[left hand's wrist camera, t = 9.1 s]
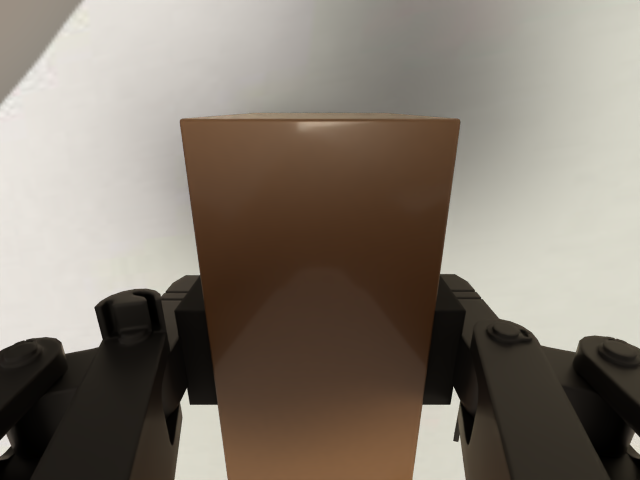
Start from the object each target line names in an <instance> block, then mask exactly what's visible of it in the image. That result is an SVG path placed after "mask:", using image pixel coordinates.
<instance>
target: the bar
mask: <svg viewBox="0 0 640 480" xmlns="http://www.w3.org/2000/svg"><path fill="white" fill-rule="evenodd" d="M180 127H181V134H182V142H183V149H184V157H185V164H186V172H187V179H188V187H189V194H190V201H191V209H192V216H193V224H194V231H195V239H196V246H197V254H198V261H199V268H200V276H201V283H202V291H203V298H204V306H205V313H206V321H207V328H208V335H209V343H210V350H211V358H212V365H213V373H214V380H215V388H216V395H217V402H218V410H219V417H220V425H221V432H222V440H223V447H224V455H225V462H226V469H227V477H228V480H412V478H413V470H414V463H415V455H416V448H417V440H418V433H419V426H420V418H421V411H422V403H423V396H424V388H425V381H426V374H427V366H428V359H429V351H430V344H431V337H432V329H433V322H434V314H435V307H436V299H437V292H438V285H439V277H440V270H441V262H442V255H443V247H444V240H445V233H446V225H447V218H448V210H449V203H450V195H451V188H452V181H453V173H454V166H455V158H456V151H457V144H458V136H459V129H460V120H459V119H455V118H443V117H430V116H417V115H405V114H392V113H249V114H236V115H223V116H210V117H197V118H184V119H181V120H180Z"/></svg>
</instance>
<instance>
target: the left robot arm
mask: <svg viewBox="0 0 640 480" xmlns="http://www.w3.org/2000/svg"><path fill="white" fill-rule="evenodd" d="M94 308H95V311H96V315H97V319H98V323H99V327H100V331H101V334H102V338H103V340H102V342H101V344H100V346H99V347H98V348H94V349H89V350H83V351H78V352H73V353H68V354H65V353H64V349H63V346H62V343H61V342H60V341H59V340H57V339H56V338H49V337H43V338H32V339H28V340H26V341H25V340H24V341H21V342H17V343H15V344H14V345H12V346H10V347H7V348H5V349H3V350H1V351H0V440H1V439H2V438H3V437H4V436H5V435H6V434H7V437H8V439H9V442H10V444H11V447H10V448H9V449H8V450H7V451H6V452H5V453H4V454H3V455H2V456H0V480H174V478H175V470H176V463H177V455H178V447H179V440H180V432H181V424H182V411H181V405H180V401H181V399H182V397H183V395H184V393H185V391H186V389H187V390H188V396H189V402H190V405H218V402H217V395H216V388H215V380H214V373H213V365H212V358H211V350H210V343H209V335H208V328H207V321H206V313H205V306H204V298H203V291H202V283H201V276H200V275H186V276H184V277H182V278H180V279H179V280H177V281H175V282H174V283H172V285H171V286H170V287H169V288H168V289H167V291H166V293H164V294H163V295H162V296H161V295H160V294H159V293H158V292H157V291H155V290H150V289H133V290H128V291H123V292H120V293H117V294H114V295H111V296H109V297H107V298H105V299H104V300H102V301H100V302H99V303H98V304H97V305H96V306H95V307H94ZM453 386H454V388H455V390H456V392H457V394H458V397H459V399H460V405H459V411H458V417H457V422H456V428H455V433H454V440H453V441H456V442H458V440H459V435H460V439H461V447H462V454H463V462H464V470H465V477H466V480H640V454H638V453H637V452H636V451H635V450H634V449H633V448H632V446H631V445H630V443H631V440H632V438H633V435H634V433H636V434H637V435H638V436H639V437H640V349H639V348H638V347H635V346H633V345H631V344H628V343H627V342H625V341H623V340H619V339H615V338H612V337H603V336H588V337H584V338H583V339H581V340H580V341H579V344H578V347H577V350H576V352H571V351H565V350H560V349H555V348H550V347H545V346H541V345H540V343H539V342H538V340H537V338H536V337H535V336H534V335H533V334H532V332H530V331H529V330H527V329H526V328H524V327H523V326H521V325H518V324H516V323H513V322H511V321H506V320H502V319H499V318H498V317H497V316H496V314H495V313H494V312H493V311H492V310H491V309H490V307H489V306H488V305H487V304H486V303H485V302H484V300H483V299H481V297H480V296H479V295H478V293H477V292H475V290H474V289H473V288H472V286H471V285H470V284H469V283H468V282H467V281H466V280H464V279H462V278H460V277H459V276H457V275H455V274H440V277H439V285H438V292H437V299H436V307H435V314H434V322H433V329H432V337H431V344H430V351H429V359H428V366H427V374H426V381H425V388H424V396H423V403H422V405H450V403H451V398H452V392H453Z"/></svg>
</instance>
